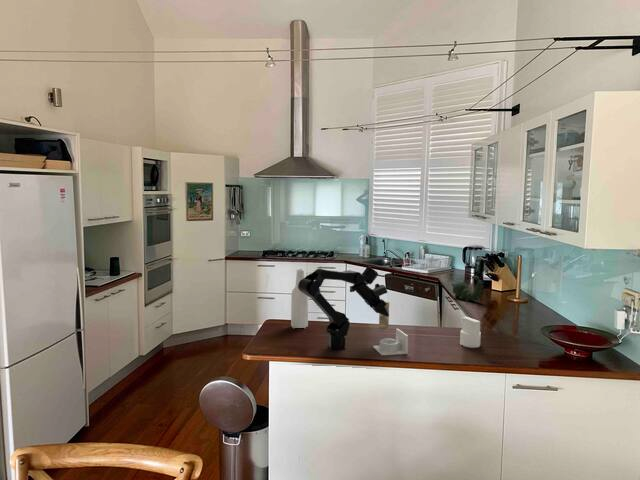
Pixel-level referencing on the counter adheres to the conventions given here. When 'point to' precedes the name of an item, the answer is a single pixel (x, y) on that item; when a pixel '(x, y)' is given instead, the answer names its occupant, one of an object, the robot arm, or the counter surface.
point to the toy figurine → (465, 293)
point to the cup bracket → (393, 344)
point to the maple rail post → (384, 319)
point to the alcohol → (299, 304)
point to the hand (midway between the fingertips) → (387, 314)
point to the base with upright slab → (470, 332)
